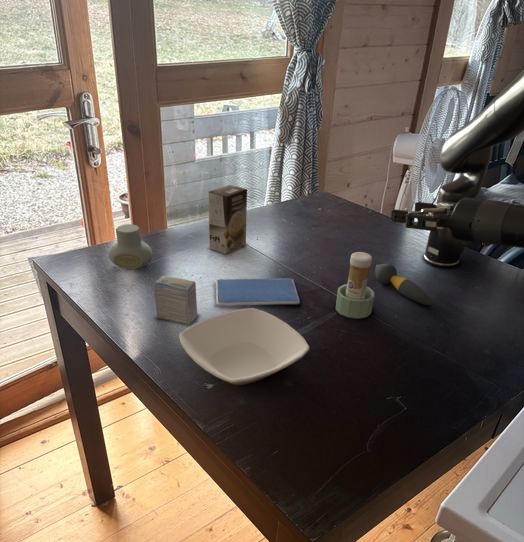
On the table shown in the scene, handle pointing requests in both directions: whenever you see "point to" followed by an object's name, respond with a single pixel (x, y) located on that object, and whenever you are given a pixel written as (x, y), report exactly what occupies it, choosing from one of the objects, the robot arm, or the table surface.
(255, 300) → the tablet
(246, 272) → the table surface
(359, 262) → the sprinkles bottle
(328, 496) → the table surface
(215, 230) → the coffee box
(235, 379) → the bowl
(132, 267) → the air freshener
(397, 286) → the paintbrush
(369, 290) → the bracelet
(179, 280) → the medicine box
